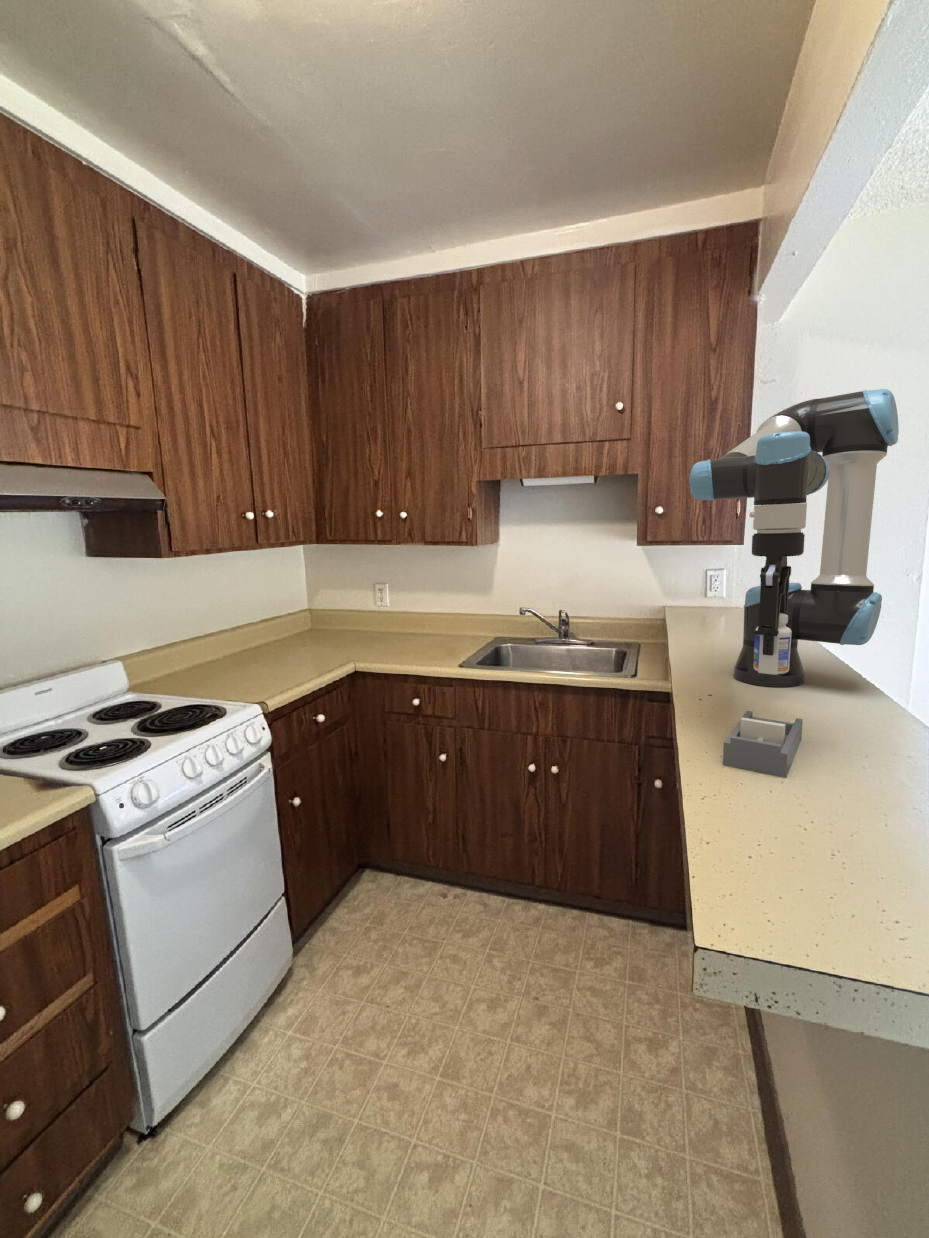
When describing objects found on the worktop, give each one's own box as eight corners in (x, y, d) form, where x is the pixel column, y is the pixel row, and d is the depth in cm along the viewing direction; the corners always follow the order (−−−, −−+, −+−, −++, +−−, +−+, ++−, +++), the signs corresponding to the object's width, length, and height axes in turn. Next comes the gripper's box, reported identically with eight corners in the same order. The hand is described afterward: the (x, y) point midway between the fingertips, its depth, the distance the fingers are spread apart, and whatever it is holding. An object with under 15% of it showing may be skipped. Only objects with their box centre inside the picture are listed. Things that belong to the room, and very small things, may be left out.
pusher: (741, 745, 96) (742, 717, 95) (783, 753, 92) (785, 724, 91) (734, 755, 92) (736, 726, 91) (779, 763, 88) (780, 733, 88)
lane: (746, 730, 106) (747, 705, 105) (801, 739, 100) (803, 713, 99) (722, 764, 91) (723, 736, 91) (786, 777, 86) (787, 747, 85)
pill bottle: (757, 665, 100) (760, 610, 98) (792, 669, 96) (795, 613, 95) (749, 671, 96) (752, 615, 94) (785, 676, 92) (789, 617, 91)
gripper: (762, 530, 102) (757, 655, 105) (740, 534, 87) (735, 679, 91) (811, 529, 97) (803, 660, 101) (796, 532, 83) (788, 685, 86)
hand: (771, 668), depth 96 cm, fingers closed on pill bottle, 5 cm apart
